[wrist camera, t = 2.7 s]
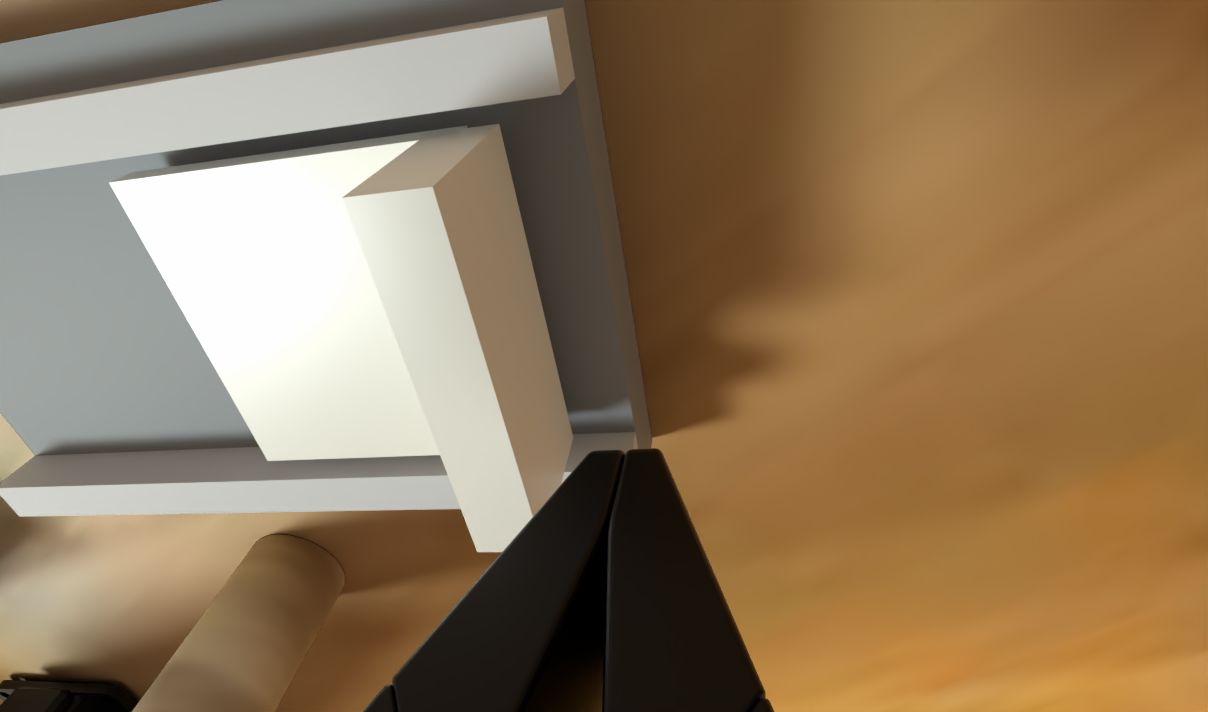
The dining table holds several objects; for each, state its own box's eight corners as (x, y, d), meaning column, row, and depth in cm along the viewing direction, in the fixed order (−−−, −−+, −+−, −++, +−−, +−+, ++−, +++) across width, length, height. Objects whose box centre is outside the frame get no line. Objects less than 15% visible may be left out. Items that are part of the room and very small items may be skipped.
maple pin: (358, 598, 22) (184, 935, 15) (276, 597, 23) (69, 920, 15) (322, 534, 21) (106, 877, 13) (235, 534, 21) (-20, 863, 14)
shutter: (574, 431, 14) (542, 552, 11) (282, 443, 15) (191, 553, 12) (502, 120, 10) (432, 186, 8) (133, 171, 12) (-33, 243, 9)
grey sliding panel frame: (651, 438, 17) (641, 535, 14) (129, 458, 20) (40, 540, 17) (574, -65, 11) (532, -62, 8) (-146, 74, 14) (-346, 108, 11)
